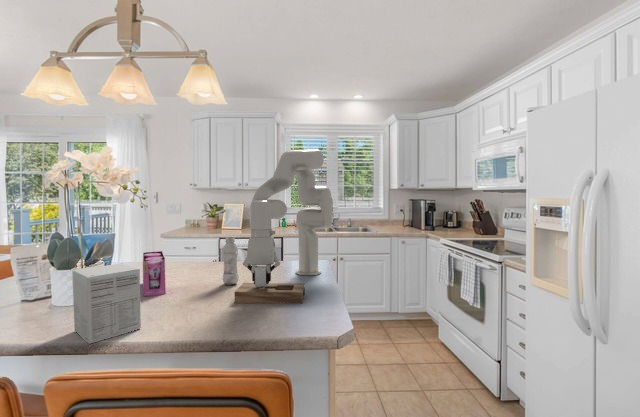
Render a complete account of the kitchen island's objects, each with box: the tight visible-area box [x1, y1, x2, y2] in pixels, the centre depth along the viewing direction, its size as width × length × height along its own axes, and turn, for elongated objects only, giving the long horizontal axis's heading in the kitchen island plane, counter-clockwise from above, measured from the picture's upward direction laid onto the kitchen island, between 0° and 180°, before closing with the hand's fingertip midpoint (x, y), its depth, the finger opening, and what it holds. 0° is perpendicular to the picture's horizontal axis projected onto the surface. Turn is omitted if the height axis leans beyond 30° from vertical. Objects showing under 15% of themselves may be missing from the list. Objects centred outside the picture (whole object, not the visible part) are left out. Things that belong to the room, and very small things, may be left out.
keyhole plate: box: [234, 282, 306, 305], centre depth 125 cm, size 12×24×4 cm, turn 88°
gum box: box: [142, 251, 167, 297], centre depth 138 cm, size 24×8×14 cm, turn 28°
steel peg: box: [255, 265, 268, 289], centre depth 125 cm, size 4×4×12 cm
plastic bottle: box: [221, 236, 240, 286], centre depth 144 cm, size 6×7×20 cm
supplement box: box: [71, 263, 142, 345], centre depth 95 cm, size 13×13×18 cm
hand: (261, 282), depth 125 cm, fingers closed on steel peg, 3 cm apart
